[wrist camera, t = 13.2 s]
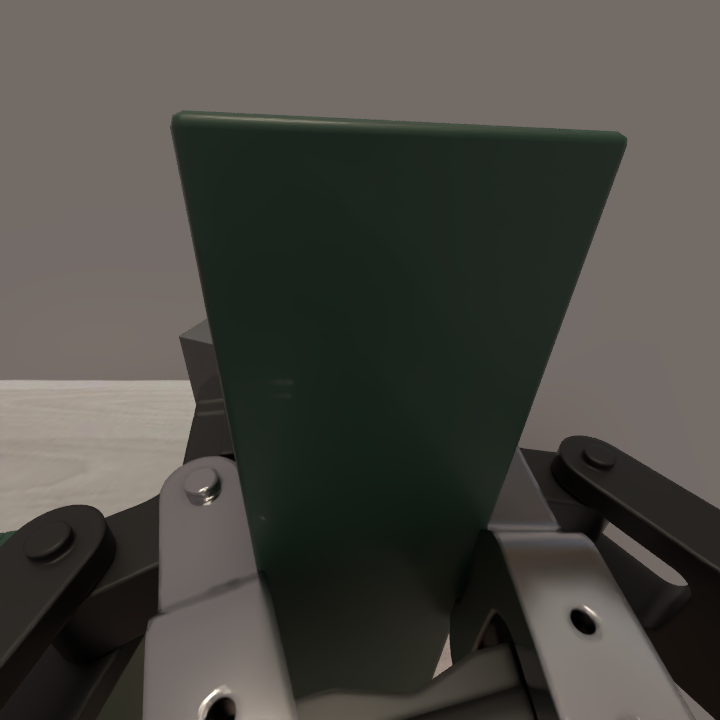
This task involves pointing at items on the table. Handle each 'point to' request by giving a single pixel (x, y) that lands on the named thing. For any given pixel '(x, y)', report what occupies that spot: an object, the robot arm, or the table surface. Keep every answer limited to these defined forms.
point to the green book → (380, 354)
